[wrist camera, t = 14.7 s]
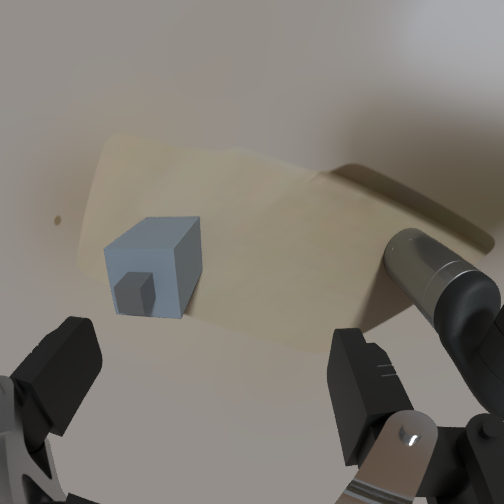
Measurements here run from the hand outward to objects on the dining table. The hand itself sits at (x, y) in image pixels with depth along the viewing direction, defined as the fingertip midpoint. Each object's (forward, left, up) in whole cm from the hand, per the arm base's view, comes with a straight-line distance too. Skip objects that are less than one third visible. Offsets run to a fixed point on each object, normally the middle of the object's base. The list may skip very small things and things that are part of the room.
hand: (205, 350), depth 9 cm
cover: (+11, +8, -36) cm, 39 cm away
